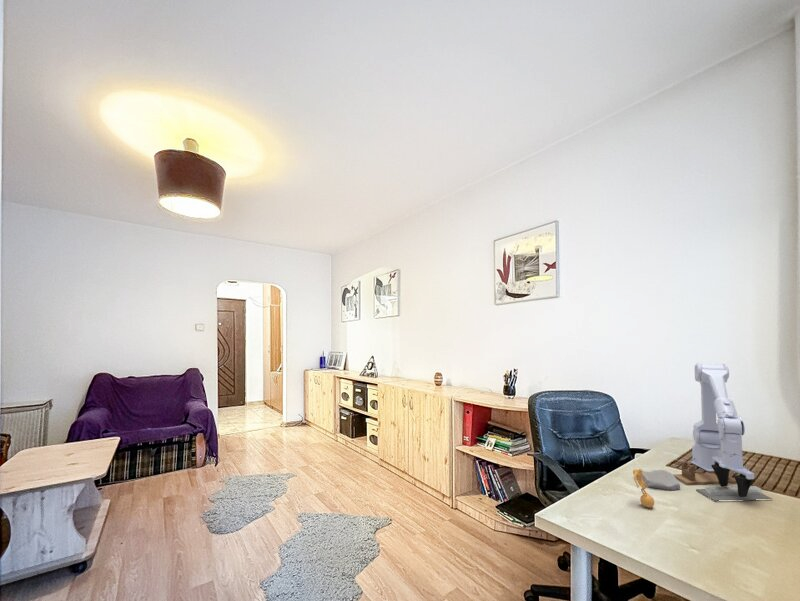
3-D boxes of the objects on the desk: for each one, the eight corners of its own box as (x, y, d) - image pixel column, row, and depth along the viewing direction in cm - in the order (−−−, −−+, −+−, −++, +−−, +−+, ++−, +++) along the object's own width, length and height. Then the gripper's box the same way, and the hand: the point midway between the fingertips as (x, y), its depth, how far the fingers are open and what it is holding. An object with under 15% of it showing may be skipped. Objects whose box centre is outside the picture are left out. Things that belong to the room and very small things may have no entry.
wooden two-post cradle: (686, 485, 144) (686, 467, 144) (672, 477, 151) (672, 460, 151) (739, 483, 144) (738, 466, 145) (723, 475, 151) (722, 459, 152)
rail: (710, 495, 134) (710, 490, 135) (705, 493, 136) (705, 487, 137) (761, 494, 135) (760, 488, 135) (755, 491, 137) (755, 486, 137)
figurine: (650, 513, 125) (648, 476, 125) (629, 506, 130) (628, 470, 130) (658, 504, 130) (657, 468, 131) (638, 498, 135) (637, 463, 135)
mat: (696, 490, 139) (696, 489, 139) (750, 489, 140) (750, 487, 140) (714, 502, 131) (714, 500, 131) (772, 500, 132) (772, 498, 132)
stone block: (683, 495, 140) (666, 478, 150) (684, 483, 139) (667, 467, 149) (649, 496, 141) (634, 478, 151) (649, 484, 140) (635, 467, 150)
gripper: (703, 445, 143) (705, 482, 143) (738, 460, 129) (740, 501, 128) (722, 444, 143) (723, 481, 143) (759, 459, 129) (761, 501, 129)
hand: (732, 491), depth 136 cm, fingers open, 7 cm apart
